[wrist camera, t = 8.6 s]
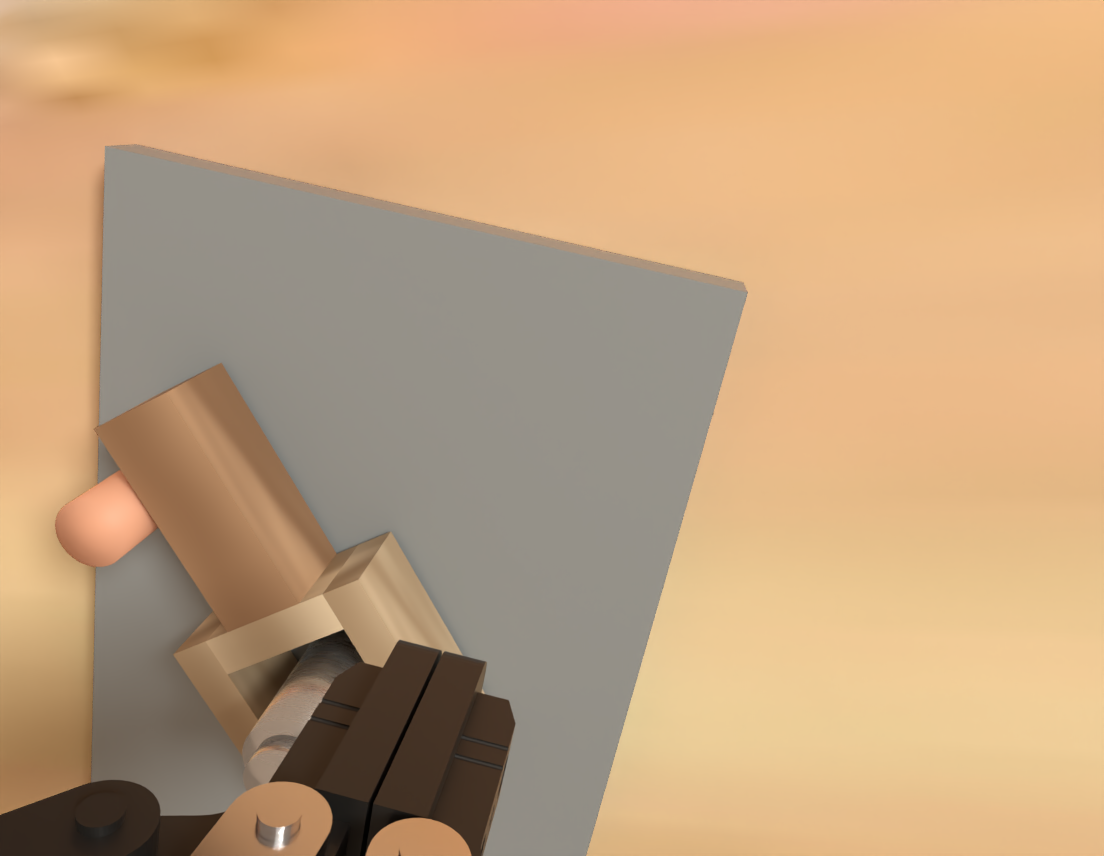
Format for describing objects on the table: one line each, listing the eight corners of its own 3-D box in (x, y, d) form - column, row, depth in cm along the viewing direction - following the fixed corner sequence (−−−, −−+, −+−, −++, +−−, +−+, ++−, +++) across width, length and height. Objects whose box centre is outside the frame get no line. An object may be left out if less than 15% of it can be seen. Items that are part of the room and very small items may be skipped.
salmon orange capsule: (201, 455, 27) (126, 509, 23) (197, 512, 28) (124, 574, 24) (140, 440, 27) (55, 492, 23) (137, 498, 28) (55, 556, 24)
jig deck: (743, 282, 25) (747, 292, 23) (546, 976, 35) (540, 1012, 33) (136, 144, 26) (105, 146, 24) (111, 859, 35) (88, 890, 34)
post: (401, 623, 28) (329, 756, 22) (390, 688, 29) (319, 834, 23) (323, 603, 28) (231, 731, 22) (314, 669, 29) (224, 809, 23)
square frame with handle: (276, 334, 25) (227, 362, 22) (488, 699, 29) (468, 762, 26) (104, 421, 27) (38, 456, 24) (322, 756, 30) (287, 821, 27)
